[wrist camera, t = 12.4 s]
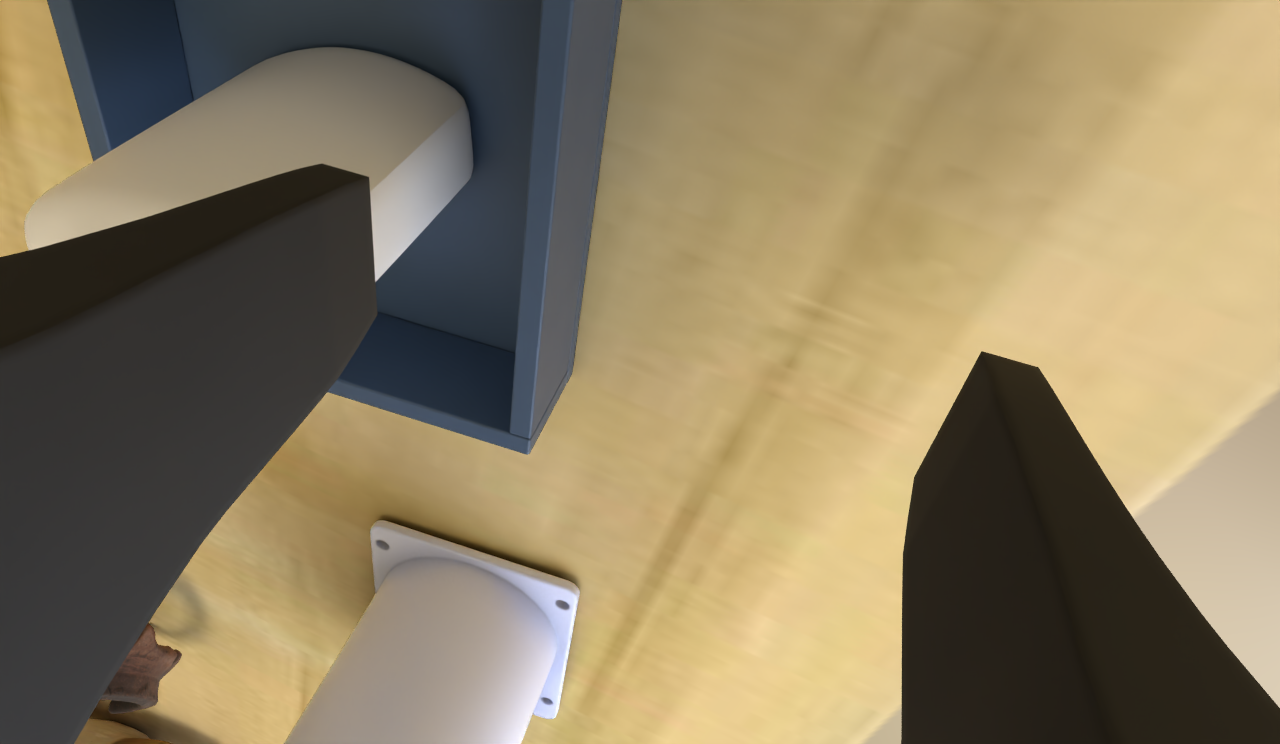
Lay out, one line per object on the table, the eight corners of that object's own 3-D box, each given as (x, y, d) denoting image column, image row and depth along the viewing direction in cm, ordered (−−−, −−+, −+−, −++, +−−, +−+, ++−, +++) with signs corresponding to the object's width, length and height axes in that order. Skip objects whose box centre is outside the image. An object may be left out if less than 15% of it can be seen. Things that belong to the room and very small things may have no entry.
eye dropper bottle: (439, 243, 23) (115, 618, 14) (248, 116, 22) (-227, 430, 13) (507, 116, 20) (155, 484, 11) (291, -35, 19) (-276, 234, 10)
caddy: (572, 373, 25) (528, 456, 23) (221, 267, 27) (142, 334, 24) (641, -140, 17) (583, -102, 14) (115, -264, 18) (-27, -249, 15)
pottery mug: (119, 477, 36) (75, 687, 33) (246, 537, 45) (223, 710, 41) (-139, 510, 38) (-208, 715, 34) (31, 563, 46) (-10, 732, 42)
